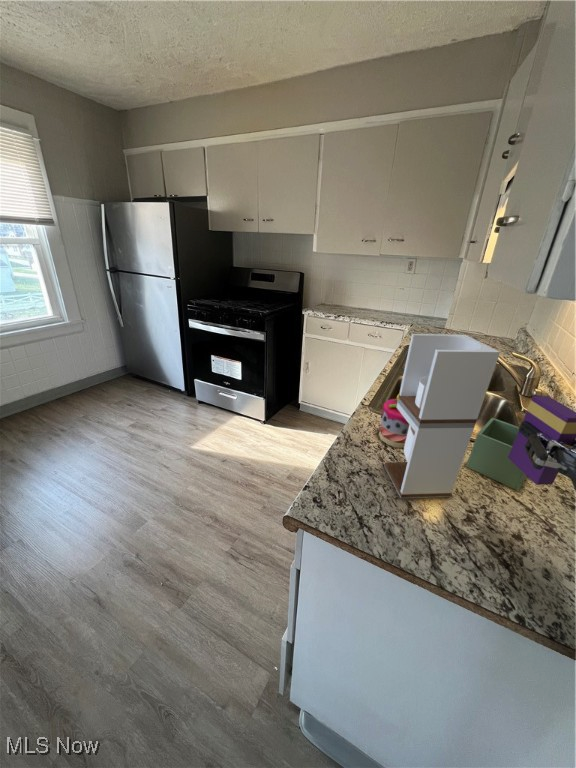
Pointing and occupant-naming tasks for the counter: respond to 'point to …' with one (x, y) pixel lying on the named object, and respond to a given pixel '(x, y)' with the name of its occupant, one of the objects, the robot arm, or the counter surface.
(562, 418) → the chocolate bar
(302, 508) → the counter surface
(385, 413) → the cake
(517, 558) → the counter surface
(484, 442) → the waste bin
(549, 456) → the robot arm
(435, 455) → the display case
